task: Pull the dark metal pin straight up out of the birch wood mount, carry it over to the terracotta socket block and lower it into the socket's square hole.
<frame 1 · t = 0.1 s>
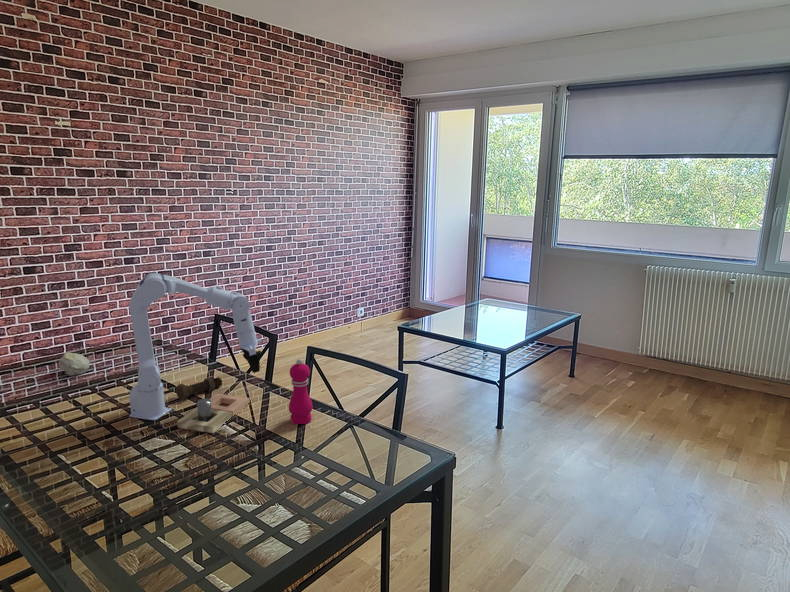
hand: (254, 367, 172), 11 cm above the table, tool pointing down, fingers open, 7 cm apart
socket block: (224, 407, 166), on the table
pin: (204, 412, 155), in the pin mount
pin mount: (205, 422, 156), on the table
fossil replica: (75, 373, 192), on the table
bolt: (201, 393, 177), on the table
pepper mill: (301, 421, 159), on the table
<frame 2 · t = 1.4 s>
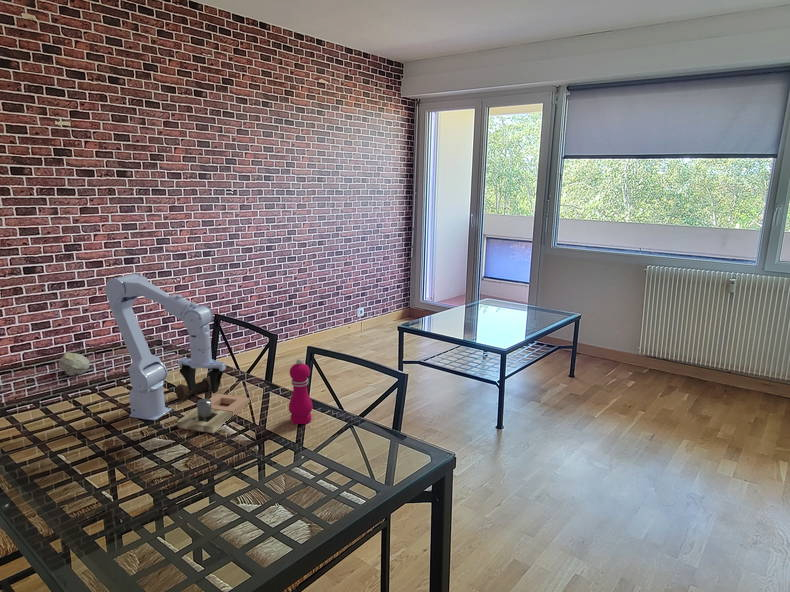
hand: (203, 390, 154), 10 cm above the table, tool pointing down, fingers open, 7 cm apart
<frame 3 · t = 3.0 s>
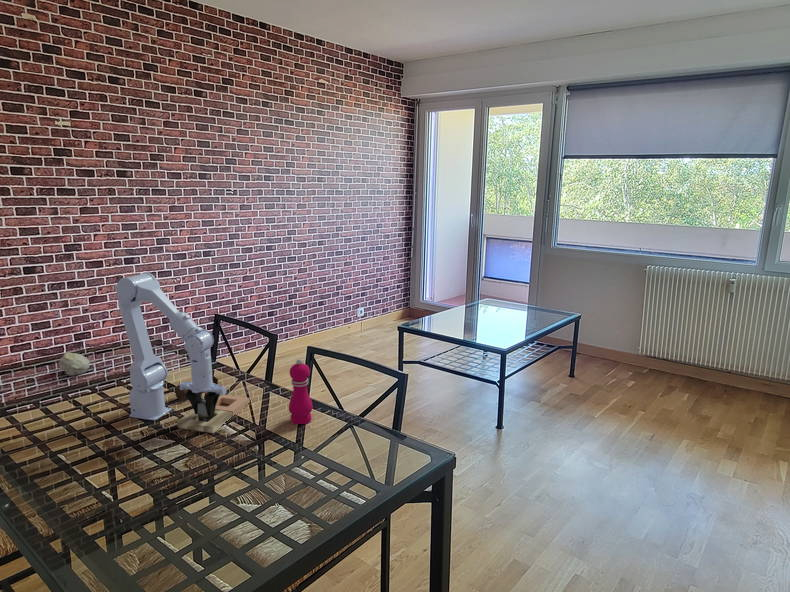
hand: (204, 413, 155), 3 cm above the table, tool pointing down, fingers closed on pin, 4 cm apart
pin: (204, 412, 155), in the pin mount, touching gripper
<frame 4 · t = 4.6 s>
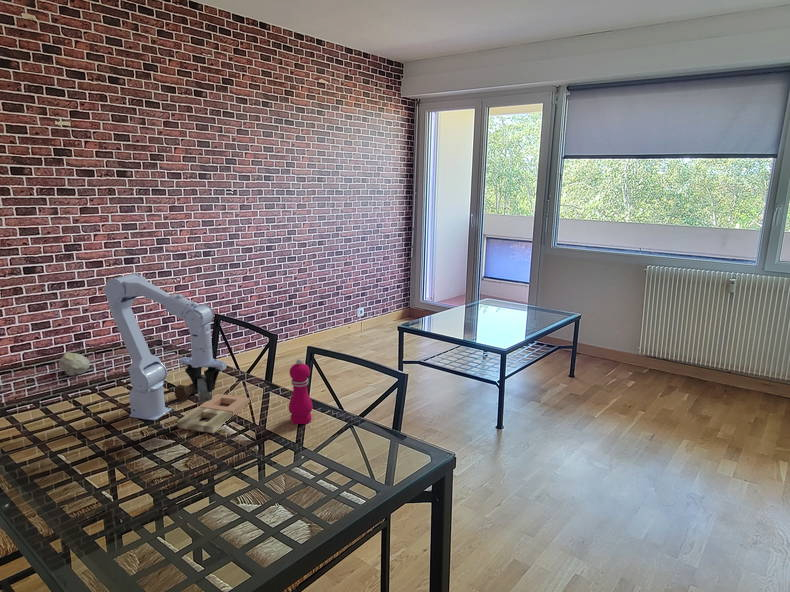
hand: (204, 389, 155), 10 cm above the table, tool pointing down, fingers closed on pin, 4 cm apart
pin: (204, 387, 154), point 11 cm above the table, touching gripper
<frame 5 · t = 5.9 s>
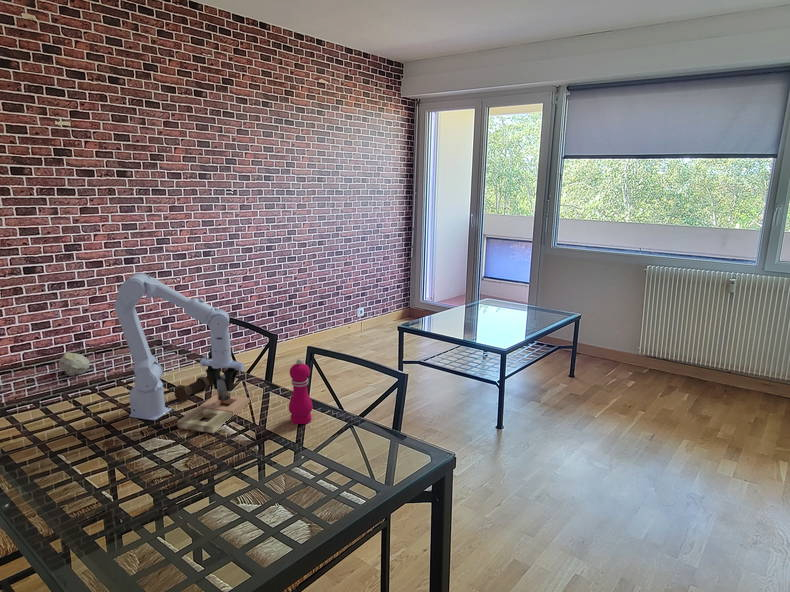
hand: (223, 389, 165), 6 cm above the table, tool pointing down, fingers closed on pin, 4 cm apart
pin: (223, 387, 164), point 7 cm above the table, touching gripper
when the fingers open (4 cm above the table, at t = 6.7 s): pin drops 1 cm, resting in socket block.
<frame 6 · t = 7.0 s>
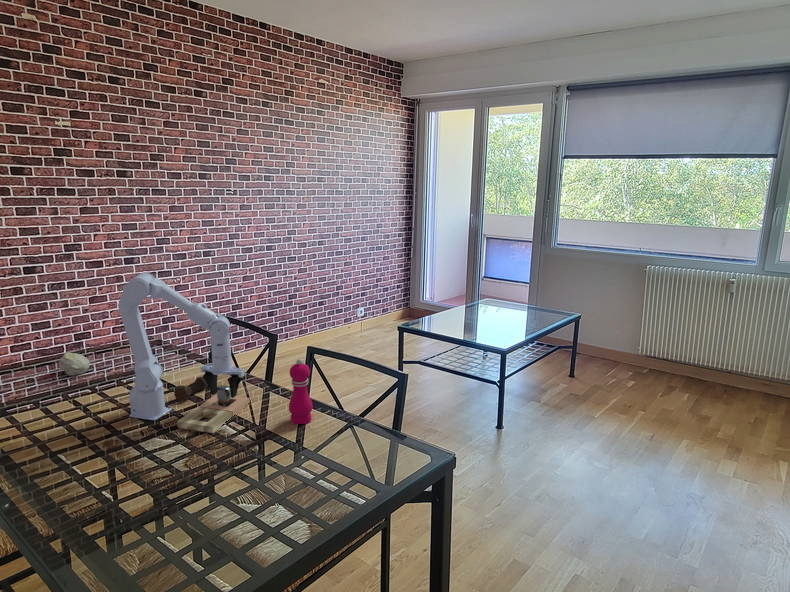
hand: (224, 395, 165), 4 cm above the table, tool pointing down, fingers open, 6 cm apart
pin: (224, 398, 165), in the socket block
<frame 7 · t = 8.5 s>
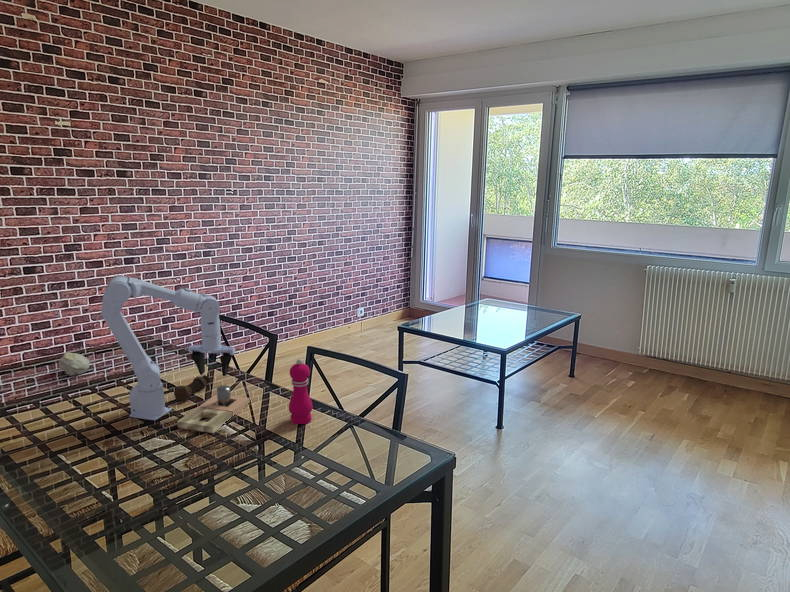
hand: (213, 374, 166), 10 cm above the table, tool pointing down, fingers open, 7 cm apart
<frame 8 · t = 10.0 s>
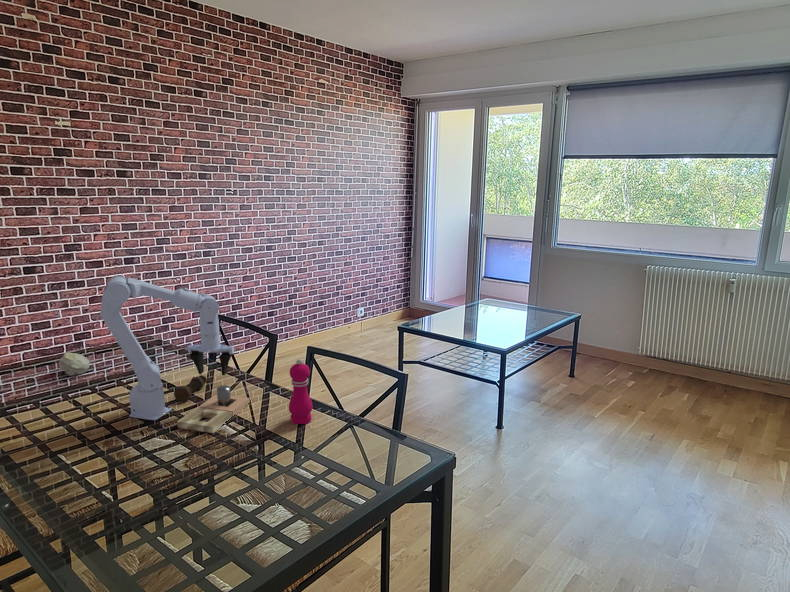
hand: (212, 373, 167), 10 cm above the table, tool pointing down, fingers open, 7 cm apart
at the end: pin 0.1 cm off-centre on the socket block, point 3.5 cm above the socket block's base; pin tilted 0°; the gripper is holding nothing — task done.
